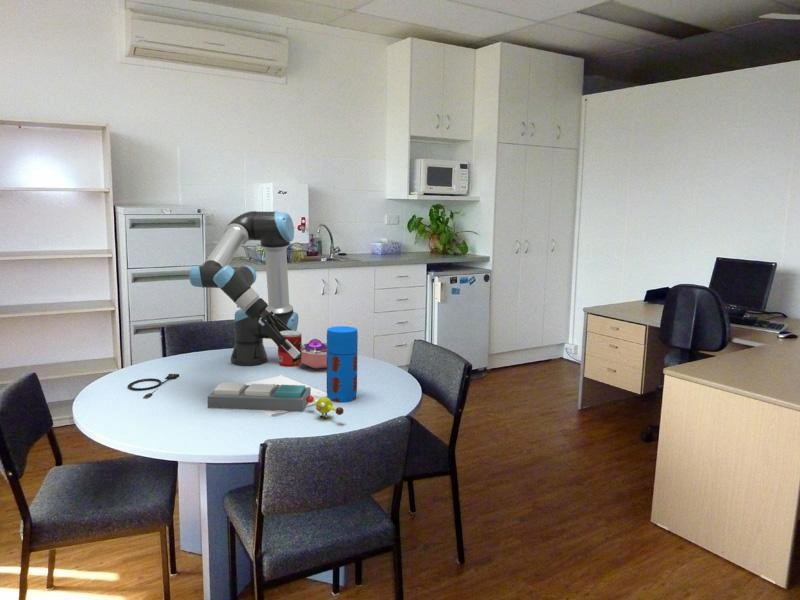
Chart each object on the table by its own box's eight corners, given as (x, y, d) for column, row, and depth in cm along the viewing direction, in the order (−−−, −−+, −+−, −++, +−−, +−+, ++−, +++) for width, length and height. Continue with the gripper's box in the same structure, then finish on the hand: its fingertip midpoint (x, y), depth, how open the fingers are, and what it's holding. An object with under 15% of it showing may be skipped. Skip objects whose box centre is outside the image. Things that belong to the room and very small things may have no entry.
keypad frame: (221, 395, 226) (220, 384, 226) (310, 398, 225) (310, 387, 224) (207, 407, 213) (207, 396, 212) (302, 411, 211) (302, 399, 211)
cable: (110, 398, 222) (109, 394, 221) (146, 376, 249) (146, 372, 249) (148, 400, 221) (147, 396, 221) (180, 377, 249) (180, 373, 248)
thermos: (349, 404, 220) (349, 333, 216) (321, 400, 223) (321, 330, 219) (361, 395, 230) (362, 327, 226) (335, 391, 233) (335, 325, 229)
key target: (281, 394, 222) (281, 384, 222) (305, 395, 222) (305, 385, 221) (275, 402, 214) (275, 392, 213) (300, 402, 214) (300, 392, 213)
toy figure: (300, 412, 210) (300, 392, 209) (313, 408, 214) (313, 389, 213) (334, 427, 198) (334, 406, 197) (348, 423, 202) (348, 402, 200)
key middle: (251, 393, 223) (251, 383, 222) (275, 394, 222) (275, 384, 222) (244, 400, 214) (244, 390, 214) (269, 401, 214) (269, 391, 214)
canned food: (297, 367, 212) (297, 335, 210) (274, 366, 213) (274, 334, 211) (304, 362, 219) (304, 331, 217) (282, 360, 220) (282, 329, 219)
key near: (222, 392, 223) (222, 382, 223) (246, 392, 223) (245, 383, 222) (214, 399, 215) (213, 389, 214) (238, 400, 215) (238, 390, 214)
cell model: (298, 374, 254) (298, 347, 252) (294, 361, 273) (294, 336, 271) (340, 372, 258) (340, 345, 256) (333, 360, 277) (333, 334, 275)
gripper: (253, 306, 224) (298, 352, 226) (235, 317, 204) (285, 368, 206) (267, 292, 223) (313, 338, 225) (251, 302, 203) (301, 352, 204)
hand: (299, 352), depth 215 cm, fingers closed on canned food, 8 cm apart
